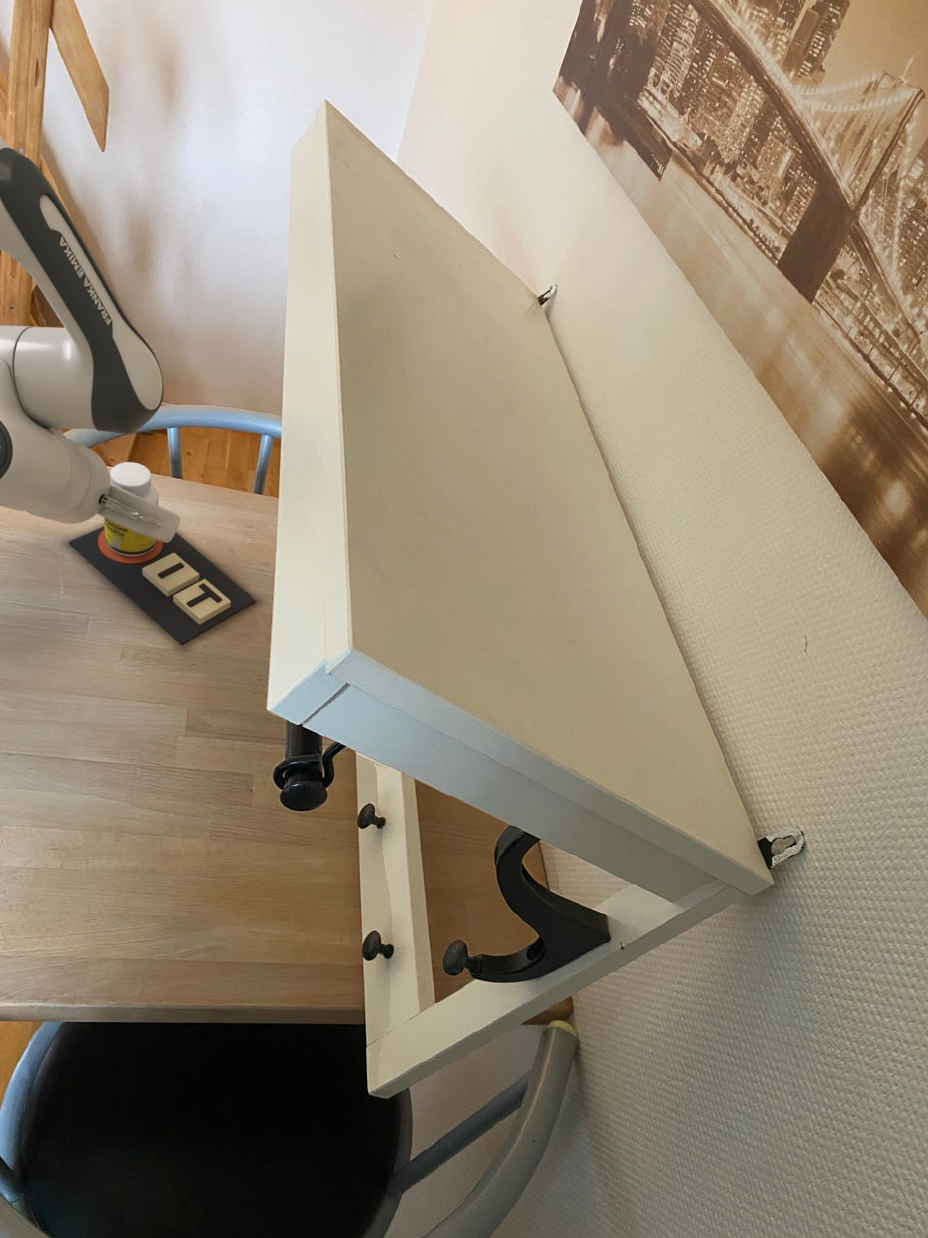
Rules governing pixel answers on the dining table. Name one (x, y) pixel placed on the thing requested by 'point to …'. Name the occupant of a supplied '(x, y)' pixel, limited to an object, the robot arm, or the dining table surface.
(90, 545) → the letter mat
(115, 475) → the pill bottle
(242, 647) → the dining table surface
